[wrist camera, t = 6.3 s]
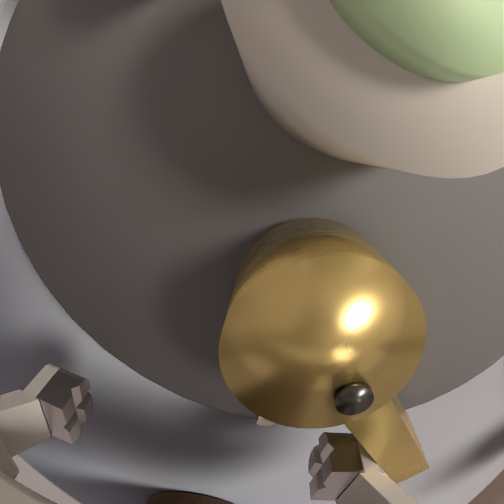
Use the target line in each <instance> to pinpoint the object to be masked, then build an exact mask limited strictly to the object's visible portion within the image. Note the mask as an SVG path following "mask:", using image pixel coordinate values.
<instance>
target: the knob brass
mask: <svg viewBox="0 0 504 504" xmlns="http://www.w3.org/2000/svg"><path fill="white" fill-rule="evenodd" d="M425 341H426V320H425V314H424V311H423V308H422V305H421V303H420V301H419V299H418V297H417V295H416V293H415V292H414V291H413V289H412V288H411V287H410V286H409V284H408V283H407V282H406V281H405V280H404V279H403V278H402V277H401V276H400V274H399V273H398V272H397V271H396V270H395V269H394V268H393V267H392V266H391V265H390V264H389V263H388V262H387V261H386V260H385V259H384V257H383V256H382V255H381V254H380V253H379V252H378V251H377V250H376V249H375V248H374V247H373V246H372V245H371V244H370V243H369V242H368V241H367V240H366V239H365V238H364V237H363V236H362V235H361V234H359V233H358V232H357V231H355V230H354V229H352V228H351V227H349V226H347V225H345V224H343V223H341V222H338V221H334V220H331V219H325V218H302V219H296V220H292V221H288V222H286V223H283V224H281V225H278V226H277V227H275V228H273V229H271V230H269V231H268V232H267V233H265V234H264V235H263V236H261V237H260V238H259V239H258V240H257V241H256V242H255V243H254V244H253V246H252V247H251V248H250V249H249V251H248V252H247V254H246V255H245V257H244V259H243V261H242V263H241V265H240V268H239V271H238V275H237V278H236V282H235V285H234V289H233V293H232V296H231V300H230V303H229V307H228V311H227V314H226V318H225V321H224V325H223V329H222V333H221V336H220V340H219V351H218V354H219V364H220V368H221V372H222V375H223V378H224V380H225V382H226V384H227V386H228V388H229V389H230V391H231V392H232V394H233V395H234V396H235V397H236V398H237V399H238V401H239V402H241V403H242V404H243V405H244V406H245V407H246V408H247V409H249V410H250V411H252V412H253V413H255V414H256V415H258V416H260V417H262V418H264V419H266V420H269V421H272V422H274V423H277V424H281V425H285V426H290V427H296V428H326V427H333V426H338V425H342V424H345V425H346V427H347V428H348V429H349V430H350V431H351V433H352V434H353V435H354V436H355V437H356V439H357V440H358V441H359V442H360V443H361V445H362V446H363V447H364V448H365V449H366V451H367V452H368V453H369V454H370V455H371V456H372V458H373V459H374V460H375V461H376V462H377V464H378V465H379V466H380V467H381V468H382V469H383V471H384V472H385V473H386V474H387V475H388V476H389V478H390V479H391V480H393V481H394V482H395V483H396V484H397V483H400V482H402V481H404V480H406V479H408V478H410V477H412V476H414V475H416V474H418V473H420V472H422V471H424V470H426V469H428V468H429V466H428V464H427V461H426V458H425V456H424V453H423V450H422V448H421V445H420V443H419V440H418V438H417V435H416V433H415V430H414V428H413V425H412V423H411V421H410V418H409V416H408V414H407V412H406V410H405V408H404V406H403V405H402V403H401V401H400V399H399V397H398V395H397V394H398V393H399V392H400V391H401V390H402V389H403V388H404V386H405V385H406V384H407V382H408V381H409V380H410V379H411V377H412V375H413V374H414V372H415V370H416V369H417V367H418V364H419V362H420V360H421V358H422V354H423V351H424V348H425Z"/></svg>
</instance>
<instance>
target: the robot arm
mask: <svg viewBox="0 0 504 504" xmlns="http://www.w3.org/2000/svg"><path fill="white" fill-rule="evenodd" d="M89 389H90V383H89V380H87V379H85V378H83V377H80V376H78V375H76V374H73V373H71V372H69V371H67V370H64V369H62V368H60V367H58V366H55V365H53V364H51V363H49V364H47V365H45V366H44V367H43V369H42V370H41V371H40V372H39V373H38V374H37V375H36V376H35V377H34V379H33V380H32V381H31V382H30V383H29V384H28V385H27V386H26V388H25V389H24V390H23V391H22V390H20V389H18V390H15V391H12V392H9V393H5V394H2V395H0V504H57V503H55V502H53V501H51V500H49V499H47V498H45V497H43V496H41V495H40V494H38V493H36V492H34V491H33V490H31V489H29V488H27V487H26V486H24V485H22V484H21V483H19V482H18V481H16V480H15V478H16V476H17V474H18V473H19V469H18V467H17V465H16V464H15V462H14V461H13V459H12V457H13V456H15V455H17V454H19V453H21V452H23V451H25V450H27V449H29V448H31V447H33V446H35V445H36V444H38V443H40V442H42V441H44V440H46V439H48V438H50V437H51V435H52V436H54V437H56V438H59V439H61V440H63V441H65V442H68V443H70V444H72V445H73V444H74V443H75V441H76V439H77V437H78V436H79V434H80V433H81V428H80V425H81V424H83V423H86V422H87V421H88V419H89V417H90V415H91V412H92V408H93V400H92V396H91V395H90V394H89V393H88V391H89ZM308 469H309V474H310V475H311V476H312V477H313V479H312V481H311V482H310V483H309V485H310V498H311V500H334V501H335V502H336V503H337V504H418V503H417V502H416V501H415V500H414V499H413V498H412V497H410V496H409V495H408V494H407V493H406V492H405V491H404V490H403V489H401V488H400V487H399V486H398V485H397V484H396V483H395V482H394V481H393V480H391V479H390V478H389V477H388V476H387V475H386V474H385V473H384V472H379V468H378V464H377V462H376V461H375V460H374V459H373V458H372V456H371V455H370V454H369V453H368V452H367V451H366V449H365V448H364V447H363V446H362V445H361V443H360V442H359V441H358V440H357V439H356V437H355V436H354V435H353V434H349V433H328V432H324V433H322V434H321V436H320V437H319V445H317V446H315V447H314V448H313V450H312V452H311V454H310V458H309V464H308Z"/></svg>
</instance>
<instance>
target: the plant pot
mask: <svg viewBox="0 0 504 504" xmlns="http://www.w3.org/2000/svg"><path fill="white" fill-rule="evenodd" d="M145 504H231V503H229V502H226V501H223V500H220V499H217V498H213V497H209V496H204V495H198V494H192V493H182V492H164V493H158V494H155V495H154V496H152V497H151V498H150V499H149V500H148V501H147V502H146V503H145Z"/></svg>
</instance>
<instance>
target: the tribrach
mask: <svg viewBox="0 0 504 504" xmlns="http://www.w3.org/2000/svg"><path fill="white" fill-rule="evenodd" d="M0 186H1V190H2V194H3V198H4V201H5V205H6V208H7V211H8V213H9V216H10V218H11V221H12V223H13V226H14V228H15V231H16V233H17V236H18V238H19V240H20V242H21V245H22V247H23V249H24V250H25V252H26V254H27V256H28V257H29V259H30V261H31V263H32V264H33V266H34V268H35V269H36V271H37V273H38V274H39V276H40V278H41V279H42V281H43V282H44V284H45V285H46V287H47V288H48V289H49V291H50V292H51V293H52V294H53V296H54V297H55V298H56V300H57V301H58V302H59V303H60V304H61V306H62V307H63V308H64V309H65V311H66V312H67V313H68V314H69V315H70V317H71V318H72V319H73V320H74V321H75V322H76V323H77V324H78V325H79V326H80V327H81V328H82V329H83V330H84V331H85V332H86V333H88V334H89V335H90V336H91V337H92V338H93V339H94V340H95V341H96V342H97V343H98V344H99V345H101V346H102V347H103V348H104V349H105V350H106V351H108V352H109V353H110V354H112V355H113V356H114V357H116V358H117V359H119V360H120V361H121V362H123V363H124V364H126V365H127V366H128V367H130V368H131V369H133V370H134V371H136V372H137V373H139V374H140V375H142V376H143V377H145V378H147V379H149V380H151V381H153V382H154V383H156V384H158V385H160V386H162V387H164V388H166V389H168V390H170V391H172V392H174V393H176V394H178V395H180V396H182V397H184V398H187V399H190V400H192V401H195V402H198V403H200V404H203V405H206V406H209V407H211V408H214V409H217V410H220V411H223V412H227V413H232V414H236V415H240V416H245V417H250V418H254V419H258V420H257V425H261V426H268V427H273V425H274V422H272V421H269V420H266V419H264V418H262V417H260V416H258V415H256V414H255V413H253V412H252V411H250V410H249V409H247V408H246V407H245V406H244V405H243V404H242V403H241V402H239V401H238V399H237V398H236V397H235V396H234V395H233V394H232V392H231V391H230V389H229V388H228V386H227V384H226V382H225V380H224V378H223V375H222V372H221V368H220V364H219V354H218V351H219V340H220V336H221V333H222V329H223V325H224V321H225V318H226V314H227V311H228V307H229V303H230V300H231V296H232V293H233V289H234V285H235V282H236V278H237V275H238V271H239V268H240V265H241V263H242V261H243V259H244V257H245V255H246V254H247V252H248V251H249V249H250V248H251V247H252V246H253V244H254V243H255V242H256V241H257V240H258V239H259V238H260V237H261V236H263V235H264V234H265V233H267V232H268V231H269V230H271V229H273V228H275V227H277V226H278V225H281V224H283V223H286V222H288V221H292V220H296V219H302V218H325V219H331V220H334V221H338V222H341V223H343V224H345V225H347V226H349V227H351V228H352V229H354V230H355V231H357V232H358V233H359V234H361V235H362V236H363V237H364V238H365V239H366V240H367V241H368V242H369V243H370V244H371V245H372V246H373V247H374V248H375V249H376V250H377V251H378V252H379V253H380V254H381V255H382V256H383V257H384V259H385V260H386V261H387V262H388V263H389V264H390V265H391V266H392V267H393V268H394V269H395V270H396V271H397V272H398V273H399V274H400V276H401V277H402V278H403V279H404V280H405V281H406V282H407V283H408V284H409V286H410V287H411V288H412V289H413V291H414V292H415V293H416V295H417V297H418V299H419V301H420V303H421V305H422V308H423V311H424V314H425V320H426V341H425V348H424V351H423V354H422V358H421V360H420V362H419V364H418V367H417V369H416V370H415V372H414V374H413V375H412V377H411V379H410V380H409V381H408V382H407V384H406V385H405V386H404V388H403V389H402V390H401V391H400V392H399V393H398V394H397V395H398V397H399V399H400V401H401V403H402V405H403V406H404V408H405V409H409V408H412V407H415V406H417V405H420V404H423V403H426V402H428V401H430V400H433V399H435V398H437V397H439V396H441V395H443V394H445V393H447V392H449V391H451V390H453V389H455V388H457V387H459V386H461V385H463V384H464V383H466V382H467V381H469V380H471V379H472V378H474V377H475V376H477V375H478V374H480V373H481V372H483V371H484V370H486V369H487V368H489V367H490V366H491V365H493V364H494V363H495V362H496V361H497V360H499V359H500V358H501V357H502V356H503V355H504V0H19V2H18V4H17V6H16V8H15V11H14V13H13V16H12V18H11V21H10V23H9V26H8V29H7V32H6V35H5V38H4V41H3V44H2V47H1V52H0Z"/></svg>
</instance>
